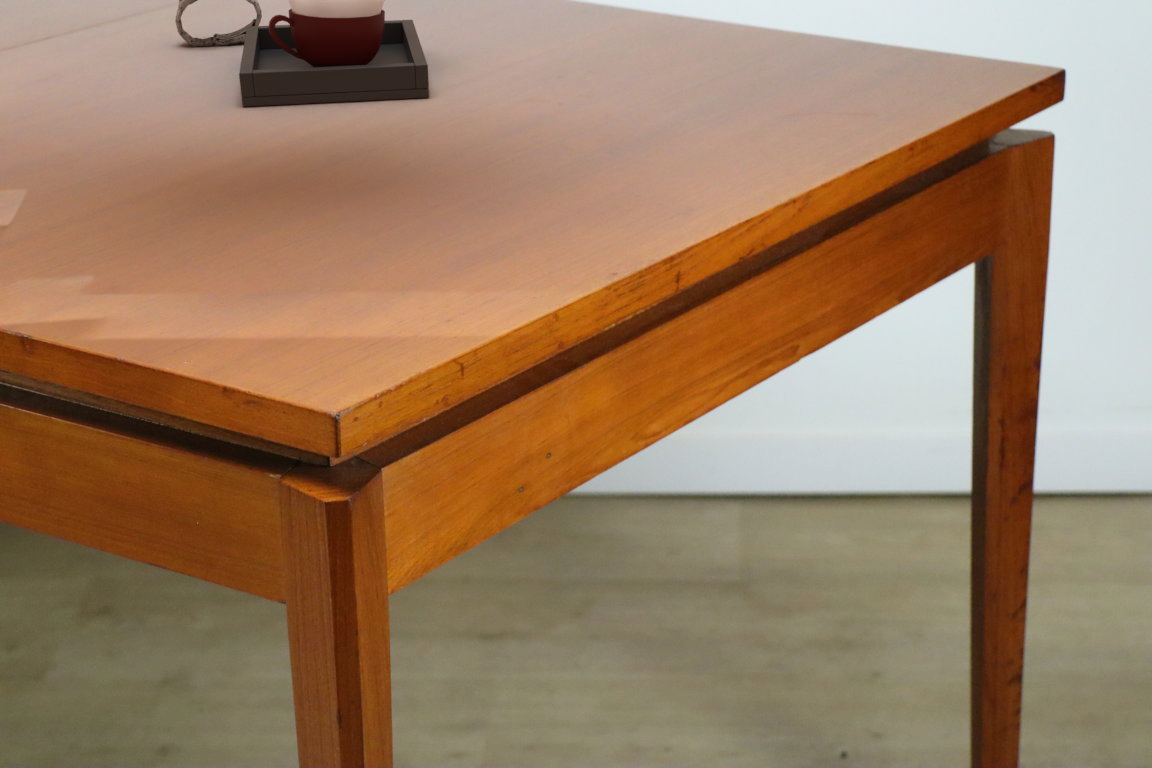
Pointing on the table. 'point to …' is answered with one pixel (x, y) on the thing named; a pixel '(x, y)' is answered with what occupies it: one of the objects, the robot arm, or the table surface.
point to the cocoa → (333, 31)
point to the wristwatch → (218, 38)
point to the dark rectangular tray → (331, 70)
